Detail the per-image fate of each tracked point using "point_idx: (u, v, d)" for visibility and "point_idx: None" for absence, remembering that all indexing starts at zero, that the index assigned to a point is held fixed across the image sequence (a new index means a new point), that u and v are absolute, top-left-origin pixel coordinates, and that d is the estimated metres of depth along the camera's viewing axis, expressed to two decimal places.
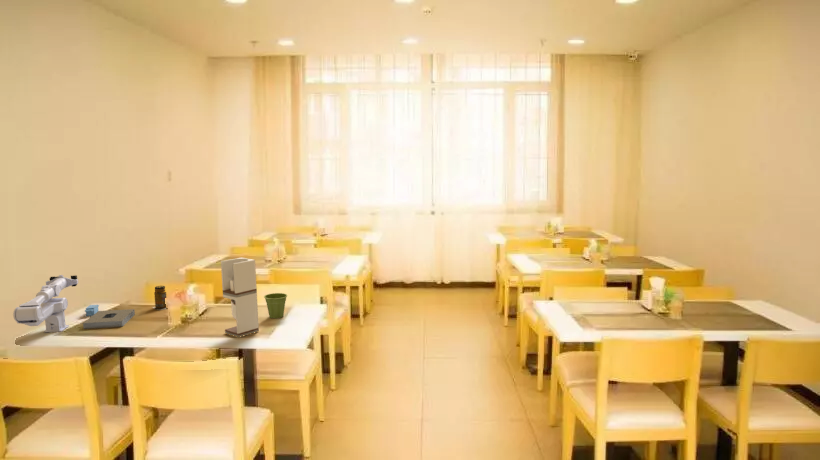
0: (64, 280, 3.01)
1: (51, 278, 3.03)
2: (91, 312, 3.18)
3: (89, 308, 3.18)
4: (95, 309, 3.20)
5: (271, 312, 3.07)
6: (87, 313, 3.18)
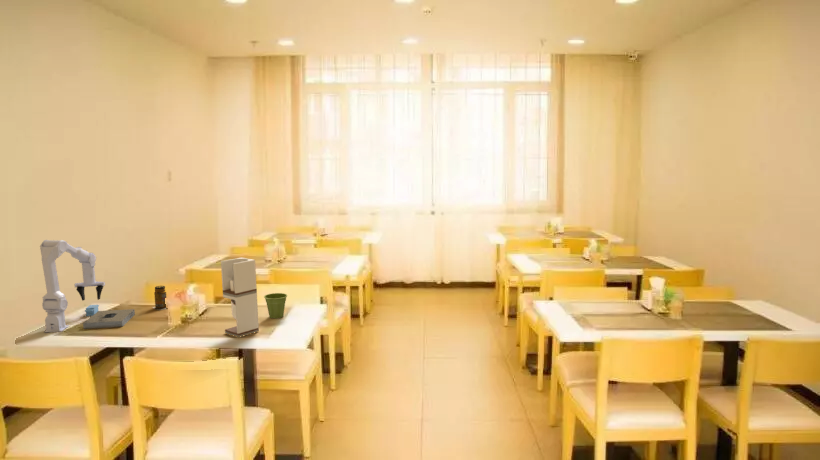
0: None
1: None
2: (91, 312, 3.18)
3: (89, 308, 3.18)
4: (95, 309, 3.20)
5: (271, 312, 3.07)
6: (87, 313, 3.18)
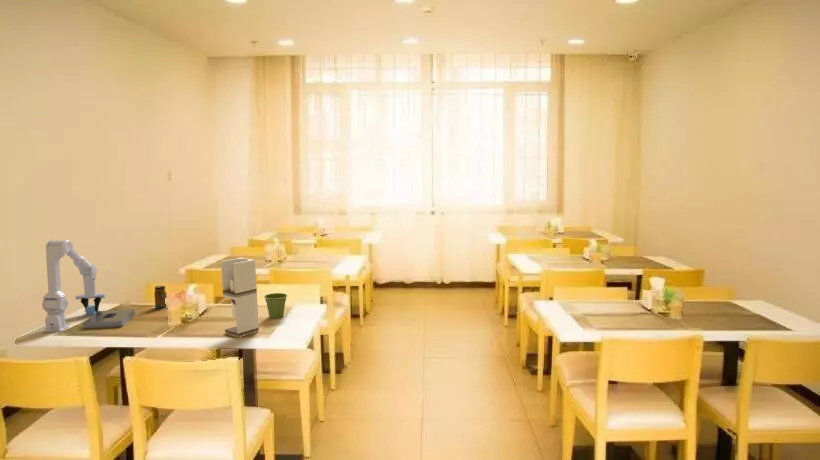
0: None
1: None
2: (91, 312, 3.18)
3: (89, 308, 3.18)
4: None
5: (271, 312, 3.07)
6: (87, 313, 3.18)
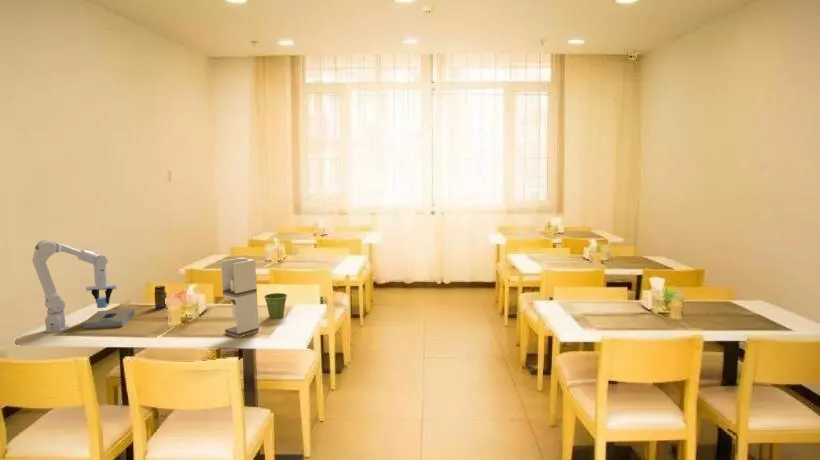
0: None
1: None
2: (102, 304, 3.07)
3: (100, 299, 3.07)
4: None
5: (271, 312, 3.07)
6: (98, 305, 3.07)
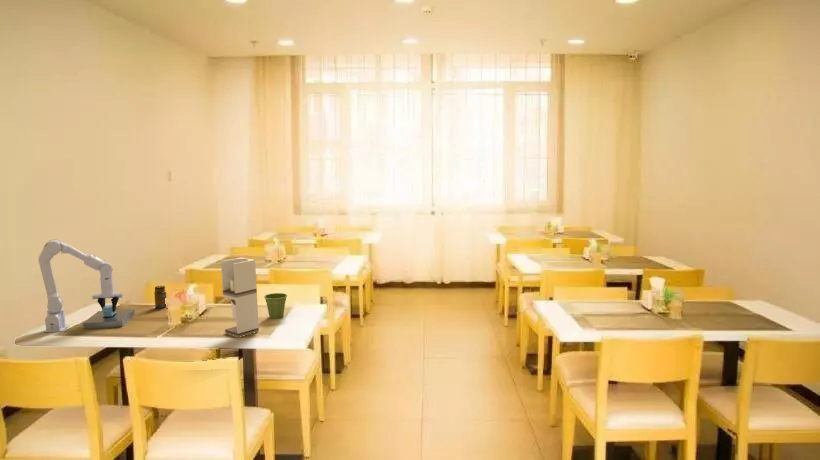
0: None
1: None
2: (108, 312, 3.03)
3: (106, 308, 3.03)
4: (112, 309, 3.06)
5: (271, 312, 3.07)
6: (104, 313, 3.03)
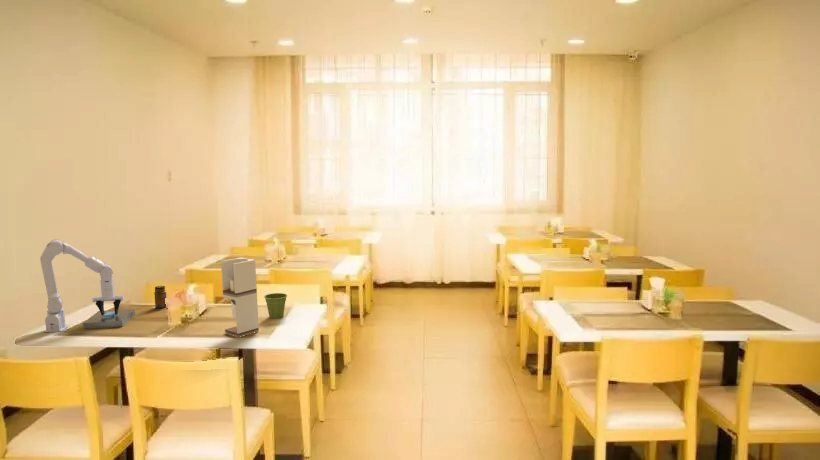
0: None
1: None
2: None
3: (107, 315, 3.04)
4: (113, 316, 3.06)
5: (271, 312, 3.07)
6: None
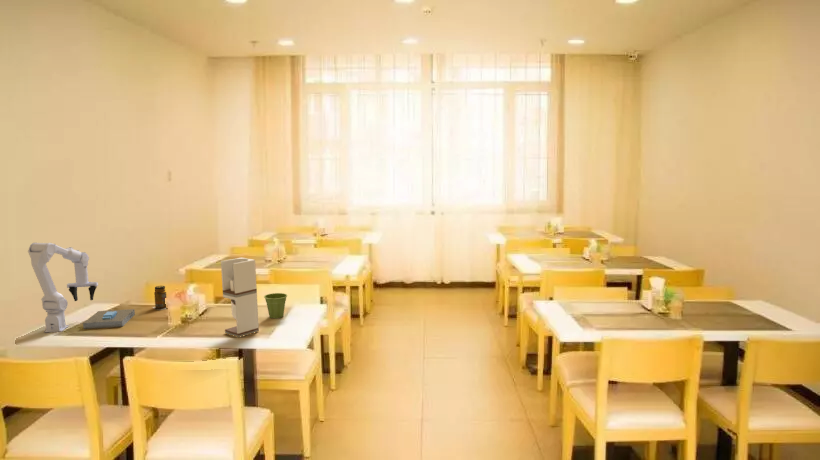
0: None
1: None
2: None
3: (107, 315, 3.04)
4: (113, 316, 3.06)
5: (271, 312, 3.07)
6: None
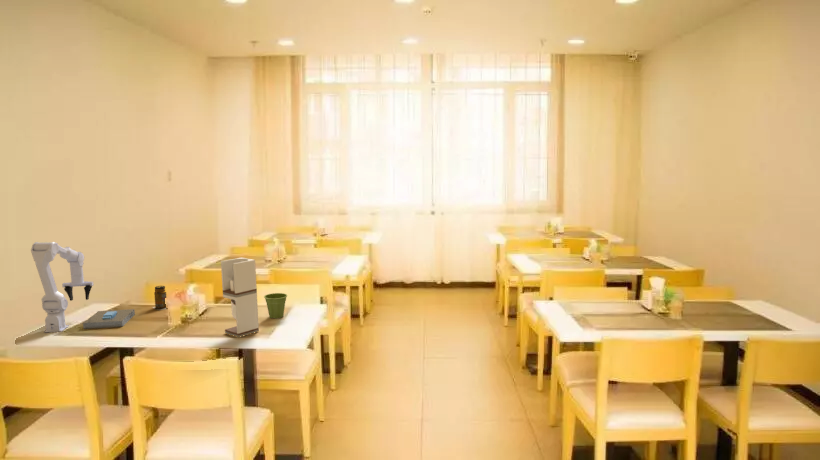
0: None
1: None
2: None
3: (107, 315, 3.04)
4: (113, 316, 3.06)
5: (271, 312, 3.07)
6: None
